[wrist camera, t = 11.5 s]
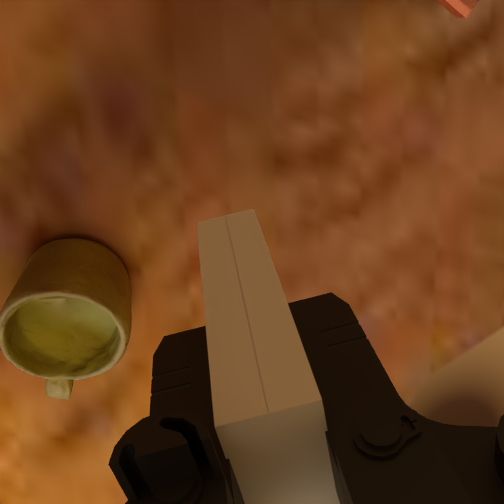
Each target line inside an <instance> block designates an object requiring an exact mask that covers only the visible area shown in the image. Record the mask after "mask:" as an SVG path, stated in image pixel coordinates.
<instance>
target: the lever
mask: <svg viewBox="0 0 504 504" xmlns="http://www.w3.org/2000/svg"><path fill="white" fill-rule="evenodd" d="M437 1H438V2H439V3H440V4H441V5H443V6H444V7H445V8H446V9H447V10H448V11H449V12H451V13H452V14H453V15H454V16H455V17H460V18H466V17H467V16H468V14H469V13H470V12H471V10H472V9H473V8H474V6H475V5H476V3H477V2H478V1H479V0H437Z"/></svg>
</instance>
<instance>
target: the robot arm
mask: <svg viewBox="0 0 504 504" xmlns="http://www.w3.org/2000/svg"><path fill="white" fill-rule="evenodd" d="M196 224H197V235H198V246H199V257H200V268H201V280H202V291H203V302H204V313H205V325H206V326H203V327H199V328H195V329H191V330H187V331H183V332H179V333H175V334H171V335H167V336H164V338H163V339H162V341H161V343H160V345H159V346H158V348H157V350H156V352H155V353H154V355H153V368H152V377H153V379H152V384H151V394H152V396H151V401H150V416H148V417H146V418H143V419H142V420H140V421H139V422H138V423H136V424H135V425H134V426H132V427H131V428H130V429H128V430H127V431H126V432H125V434H124V435H123V436H122V438H121V439H120V440H119V441H118V443H117V444H116V445H115V447H114V450H113V453H112V455H111V458H110V461H109V466H110V468H111V470H112V472H113V473H114V475H115V477H116V479H117V481H118V482H119V484H120V486H121V488H122V490H123V491H124V493H125V495H126V497H127V499H128V501H127V502H126V503H125V504H504V415H503V416H502V417H501V418H500V421H499V424H498V427H482V426H457V425H448V424H442V423H439V422H436V421H433V420H429V419H427V418H425V417H423V416H421V415H420V414H418V413H417V412H416V411H415V410H413V409H411V408H410V407H409V406H407V405H406V404H405V403H404V401H403V400H402V399H401V397H400V396H399V395H398V393H397V391H396V389H395V388H394V386H393V384H392V382H391V380H390V378H389V377H388V375H387V373H386V371H385V369H384V367H383V366H382V364H381V362H380V360H379V358H378V357H377V355H376V353H375V351H374V349H373V347H372V346H371V344H370V342H369V340H368V339H367V338H366V335H365V333H364V331H363V329H362V327H361V326H360V325H359V323H358V320H357V318H356V316H355V315H354V313H353V311H352V309H351V307H350V306H349V304H348V303H346V302H345V301H343V300H342V299H340V298H339V297H337V296H336V295H334V294H333V293H327V294H323V295H319V296H315V297H311V298H307V299H303V300H299V301H295V302H292V303H287V300H286V297H285V294H284V292H283V289H282V286H281V283H280V280H279V278H278V275H277V272H276V269H275V266H274V264H273V261H272V258H271V255H270V252H269V249H268V247H267V244H266V241H265V238H264V235H263V233H262V230H261V227H260V224H259V221H258V219H257V216H256V213H255V210H254V208H252V209H248V210H244V211H240V212H236V213H232V214H228V215H224V216H220V217H216V218H212V219H208V220H204V221H200V222H196Z"/></svg>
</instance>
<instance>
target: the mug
mask: <svg viewBox="0 0 504 504" xmlns="http://www.w3.org/2000/svg"><path fill="white" fill-rule="evenodd" d="M131 320H132V318H131V296H130V280H129V276H128V273H127V271H126V268H125V266H124V264H123V263H122V261H121V260H120V259H119V258H118V257H117V256H116V255H115V254H114V253H113V252H112V251H111V250H109V249H108V248H106V247H105V246H104V245H102V244H100V243H98V242H95V241H92V240H86V239H82V238H69V239H59V240H54V241H51V242H49V243H47V244H45V245H43V246H41V247H40V248H39V249H37V250H36V251H35V252H34V253H33V254H32V256H31V257H30V258H29V259H28V261H27V262H26V264H25V266H24V268H23V271H22V274H21V276H20V278H19V280H18V282H17V283H16V285H15V287H14V288H13V290H12V292H11V294H10V295H9V297H8V299H7V300H6V302H5V304H4V306H3V308H2V310H1V313H0V347H1V350H2V352H3V354H4V355H5V357H6V358H7V359H8V360H9V361H10V362H11V363H12V364H13V365H15V366H16V367H17V368H19V369H20V370H22V371H24V372H26V373H28V374H31V375H33V376H37V377H42V378H46V379H47V380H46V387H45V388H46V394H47V395H48V396H49V397H51V398H61V399H69V397H70V394H71V391H72V386H73V379H74V380H81V379H85V378H89V377H94V376H97V375H99V374H102V373H104V372H106V371H108V370H109V369H110V368H112V367H113V366H114V365H115V364H116V363H117V362H118V361H119V360H120V358H121V357H122V356H123V354H124V352H125V350H126V348H127V345H128V342H129V338H130V333H131Z"/></svg>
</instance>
